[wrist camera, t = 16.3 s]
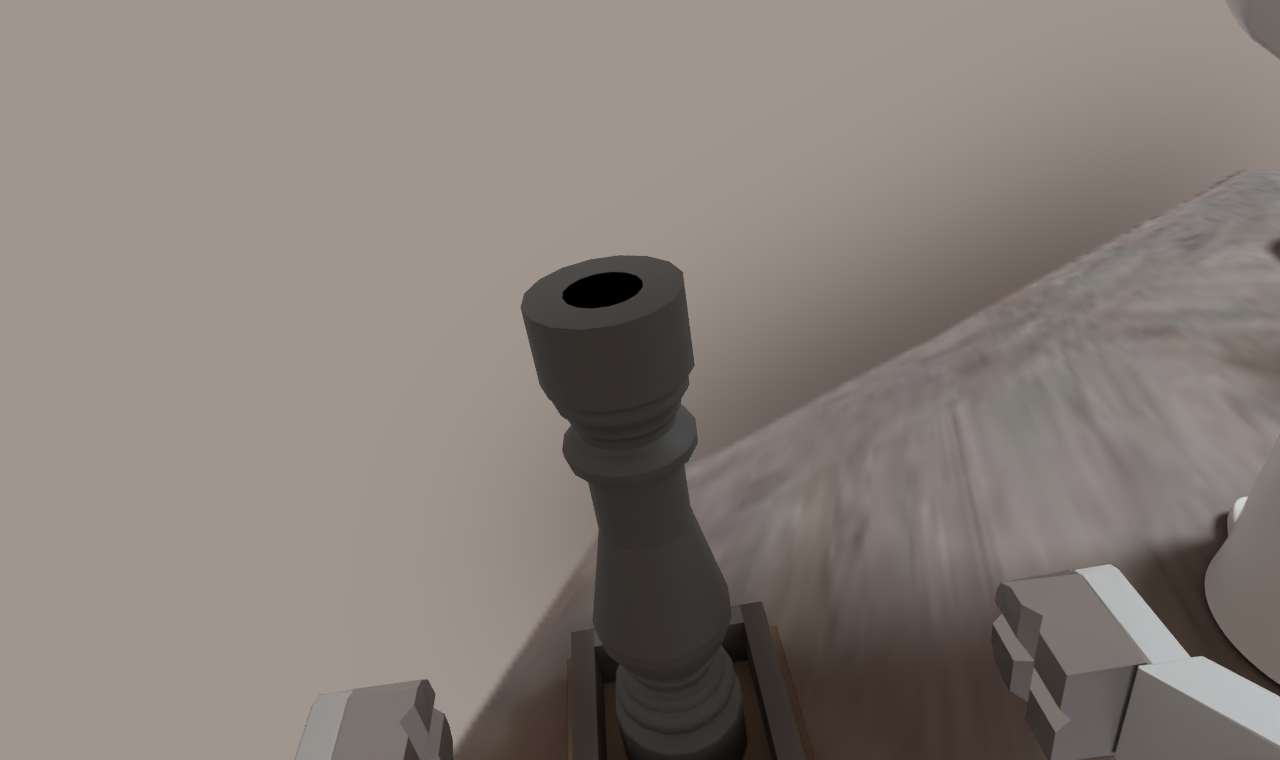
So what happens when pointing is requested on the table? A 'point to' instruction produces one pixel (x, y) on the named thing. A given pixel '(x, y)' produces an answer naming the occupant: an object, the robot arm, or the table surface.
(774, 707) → the socket base
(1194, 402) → the table surface
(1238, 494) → the table surface
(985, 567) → the table surface
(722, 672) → the candle holder
